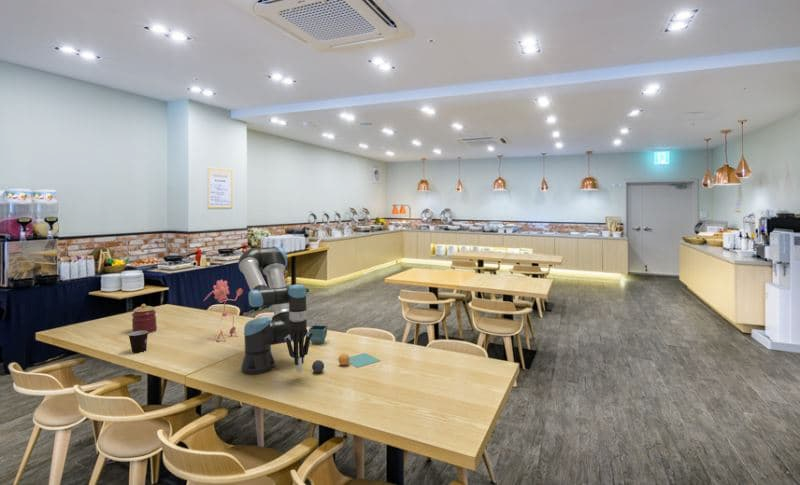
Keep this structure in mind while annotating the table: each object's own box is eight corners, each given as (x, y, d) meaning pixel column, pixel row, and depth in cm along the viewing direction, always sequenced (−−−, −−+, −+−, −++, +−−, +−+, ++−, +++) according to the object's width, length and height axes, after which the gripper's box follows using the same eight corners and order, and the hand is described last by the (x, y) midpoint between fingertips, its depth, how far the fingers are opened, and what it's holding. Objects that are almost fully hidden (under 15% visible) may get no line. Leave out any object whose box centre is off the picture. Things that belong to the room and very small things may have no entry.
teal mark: (357, 367, 191) (357, 367, 191) (342, 359, 202) (342, 359, 202) (380, 360, 200) (380, 360, 200) (364, 353, 211) (364, 352, 211)
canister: (134, 330, 253) (133, 302, 252) (158, 327, 258) (157, 300, 257) (130, 335, 241) (129, 307, 240) (155, 333, 247) (154, 305, 245)
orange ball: (342, 367, 191) (342, 356, 191) (336, 364, 195) (336, 353, 195) (351, 365, 195) (351, 354, 194) (345, 361, 199) (345, 351, 198)
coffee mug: (139, 354, 209) (138, 335, 208) (125, 353, 211) (124, 334, 210) (157, 347, 221) (156, 329, 220) (143, 346, 222) (142, 328, 222)
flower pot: (328, 340, 232) (327, 325, 231) (323, 345, 223) (323, 329, 223) (313, 340, 233) (313, 325, 232) (308, 345, 224) (308, 329, 224)
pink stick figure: (248, 333, 246) (245, 276, 244) (215, 346, 222) (211, 284, 220) (229, 331, 252) (226, 276, 250) (194, 343, 228) (191, 282, 226)
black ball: (315, 375, 182) (315, 363, 182) (310, 371, 187) (309, 360, 186) (326, 372, 186) (326, 360, 185) (320, 368, 190) (320, 357, 190)
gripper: (287, 323, 171) (288, 377, 173) (315, 318, 179) (316, 370, 181) (280, 320, 177) (281, 372, 179) (307, 315, 185) (308, 365, 187)
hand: (299, 371), depth 180 cm, fingers closed
